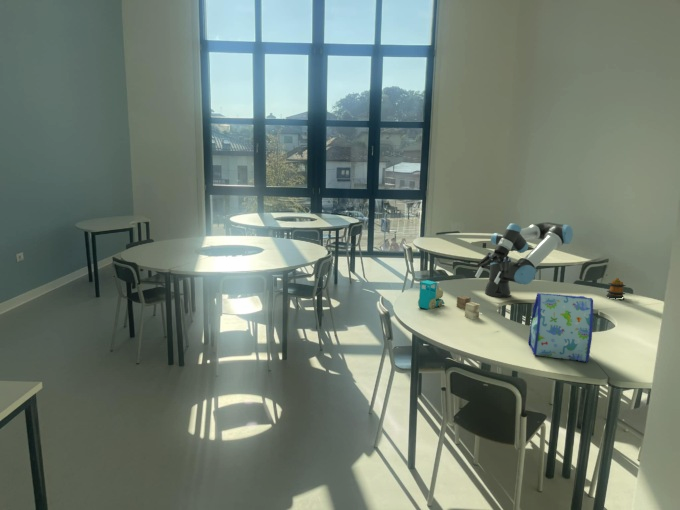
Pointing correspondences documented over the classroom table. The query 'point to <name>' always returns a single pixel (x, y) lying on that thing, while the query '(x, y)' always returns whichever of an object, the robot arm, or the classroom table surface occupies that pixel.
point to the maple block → (472, 310)
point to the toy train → (430, 295)
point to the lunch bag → (562, 326)
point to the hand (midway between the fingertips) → (485, 280)
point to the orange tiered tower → (616, 289)
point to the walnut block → (462, 301)
